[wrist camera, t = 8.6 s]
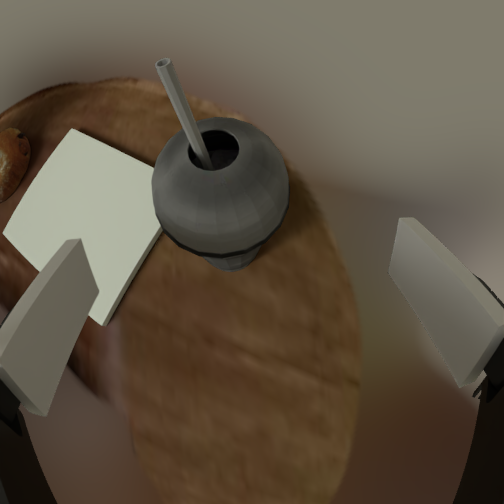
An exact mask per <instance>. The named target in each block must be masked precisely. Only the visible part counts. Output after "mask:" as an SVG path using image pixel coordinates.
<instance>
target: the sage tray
mask: <svg viewBox="0 0 504 504" xmlns="http://www.w3.org/2000/svg"><path fill="white" fill-rule="evenodd" d="M153 171H154V168H153V167H151V166H149V165H147V164H145V163H143V162H141V161H139V160H137V159H135V158H133V157H131V156H128V155H126V154H124V153H122V152H120V151H118V150H116V149H114V148H112V147H110V146H108V145H106V144H104V143H102V142H100V141H98V140H96V139H93V138H91V137H89V136H87V135H85V134H83V133H81V132H79V131H77V130H74V129H71V130H70V131H69V132H68V134H67V135H66V136H65V137H64V139H63V140H62V141H61V143H60V144H59V145H58V146H57V148H56V149H55V150H54V152H53V153H52V154H51V156H50V157H49V159H48V160H47V161H46V163H45V164H44V166H43V167H42V169H41V170H40V171H39V173H38V174H37V176H36V177H35V179H34V180H33V182H32V184H31V185H30V187H29V188H28V190H27V191H26V193H25V195H24V196H23V198H22V200H21V201H20V203H19V205H18V206H17V208H16V210H15V212H14V213H13V215H12V217H11V219H10V221H9V222H8V224H7V226H6V228H5V230H4V232H3V234H4V235H5V236H6V238H7V239H8V240H9V241H10V242H11V243H12V244H13V245H14V246H15V247H16V248H17V249H18V251H19V252H20V253H21V254H22V255H23V256H24V257H25V258H26V259H27V260H28V261H29V262H30V263H31V264H32V265H33V266H34V267H35V268H36V269H37V270H38V271H39V272H41V270H42V269H43V268H44V267H45V265H46V264H47V263H48V262H49V260H50V259H51V258H52V257H53V255H54V254H55V253H56V252H57V251H58V249H59V248H60V247H61V246H62V245H63V244H64V242H65V241H66V240H70V239H79V238H81V240H82V243H83V246H84V249H85V253H86V256H87V259H88V261H89V264H90V267H91V270H92V273H93V276H94V278H95V281H96V284H97V286H98V289H99V294H98V296H97V298H96V300H95V302H94V304H93V306H92V308H91V310H90V312H89V314H88V315H89V316H90V317H91V318H93V319H94V320H95V321H96V322H98V323H99V324H100V325H101V326H107V324H108V322H109V320H110V319H111V317H112V315H113V313H114V311H115V309H116V308H117V306H118V304H119V302H120V300H121V299H122V297H123V295H124V293H125V292H126V290H127V288H128V286H129V285H130V283H131V281H132V280H133V278H134V276H135V275H136V273H137V271H138V269H139V268H140V266H141V264H142V263H143V261H144V260H145V258H146V256H147V255H148V253H149V251H150V250H151V248H152V247H153V245H154V243H155V242H156V240H157V239H158V237H159V236H160V234H161V232H162V231H163V229H162V227H161V225H160V223H159V221H158V219H157V217H156V215H155V208H154V205H153V197H152V185H151V180H152V175H153Z"/></svg>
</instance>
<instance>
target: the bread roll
mask: <svg viewBox="0 0 504 504" xmlns="http://www.w3.org/2000/svg"><path fill="white" fill-rule="evenodd" d="M30 155H31V148H30V145H29V141H28V139H27V138H26V136H25V133H22V132H20V131H19V130H18V129H15V128H14V129H13V128H12V127H10V128H9V129H6V130H4V131H2V132H0V203H1V202H3V201H5V200H6V199H7V198H8V197H10V196H11V195H12V193H13V192H14V191H15V190H16V188H17V186H18V185H19V183H20V181H21V179H22V177H23V176H24V174H25V172H26V170H27V168H28V164H29V160H30Z"/></svg>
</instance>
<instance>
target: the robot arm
mask: <svg viewBox="0 0 504 504" xmlns="http://www.w3.org/2000/svg"><path fill="white" fill-rule="evenodd" d="M388 274H389V275H390V277H391V278H392V280H393V281H394V283H395V284H396V285H397V287H398V288H399V290H400V291H401V293H402V294H403V296H404V297H405V299H406V300H407V302H408V303H409V305H410V306H411V308H412V309H413V311H414V312H415V314H416V315H417V317H418V318H419V320H420V322H421V323H422V325H423V326H424V328H425V330H426V331H427V333H428V334H429V336H430V338H431V339H432V341H433V342H434V344H435V346H436V348H437V349H438V351H439V352H440V354H441V356H442V358H443V359H444V361H445V363H446V365H447V366H448V368H449V370H450V372H451V374H452V375H453V377H454V379H455V381H456V383H457V384H458V386H459V388H460V387H463V386H465V385H467V384H470V383H472V382H474V381H475V380H476V379H477V378H478V376H479V375H480V374H481V372H482V371H483V370H484V371H485V373H486V375H487V376H486V377H485V379H484V380H483V381H482V383H481V384H480V385H479V386H478V388H477V389H476V390H475V392H474V393H473V397H475V396H476V395H477V394H478V393H479V392H480V390H482V391H481V395H480V396H479V398H478V399H480V404H479V410H478V416H477V421H476V426H475V431H474V435H473V440H472V444H471V448H470V452H469V455H468V459H467V463H466V466H465V469H464V473H463V476H462V479H461V482H460V485H459V488H458V491H457V493H456V496H455V499H454V501H453V504H504V304H503V303H502V301H501V300H500V299H499V298H497V296H496V295H495V293H494V292H493V291H491V289H490V288H489V287H488V286H487V285H486V284H485V282H484V281H482V280H481V279H480V278H478V277H477V276H475V275H474V274H472V273H471V272H470V271H469V270H468V269H467V268H466V266H465V265H464V264H463V263H462V262H461V261H460V260H459V259H457V257H456V256H455V255H454V254H453V253H452V252H450V250H449V249H448V248H446V247H445V246H444V245H443V244H442V243H441V242H440V241H439V240H438V239H437V238H436V237H435V236H434V235H433V234H432V233H430V232H429V231H428V230H427V229H426V228H425V227H424V226H423V225H422V224H421V223H420V222H418V221H417V220H416V219H415V218H413V217H407V218H399V222H398V227H397V232H396V238H395V242H394V247H393V252H392V256H391V260H390V265H389V269H388ZM98 294H99V289H98V286H97V284H96V281H95V278H94V276H93V273H92V270H91V267H90V264H89V261H88V259H87V256H86V253H85V249H84V246H83V243H82V240H81V238H79V239H70V240H66V241H65V242H64V244H63V245H62V246H61V247H60V248H59V249H58V251H57V252H56V253H55V254H54V255H53V257H52V258H51V259H50V260H49V262H48V263H47V264H46V265H45V267H44V268H43V269H42V270H41V272H40V273H39V274H38V276H37V277H36V278H35V279H34V281H33V282H32V283H31V285H30V286H29V288H28V289H27V290H26V292H25V293H24V294H23V296H22V297H21V299H20V300H19V301H18V303H17V304H16V306H15V307H14V308H13V309H12V310H11V311H10V312H9V313H8V314H7V315H6V317H5V319H4V320H3V322H2V325H0V504H57V502H56V500H55V498H54V496H53V494H52V492H51V490H50V487H49V485H48V483H47V481H46V478H45V476H44V474H43V472H42V469H41V467H40V464H39V461H38V459H37V456H36V454H35V451H34V448H33V445H32V442H31V440H30V436H29V433H28V430H27V427H26V424H25V420H24V417H23V415H22V413H21V411H20V410H19V409H18V408H19V406H20V403H22V405H23V406H24V407H25V408H26V409H27V410H28V411H29V412H30V413H34V414H37V415H41V416H45V417H46V416H47V414H48V411H49V408H50V405H51V402H52V399H53V396H54V394H55V391H56V388H57V386H58V383H59V380H60V378H61V375H62V373H63V370H64V368H65V366H66V363H67V361H68V358H69V356H70V354H71V351H72V349H73V347H74V344H75V342H76V340H77V338H78V335H79V333H80V331H81V329H82V327H83V325H84V322H85V320H86V318H87V316H88V314H89V312H90V310H91V308H92V306H93V304H94V302H95V300H96V298H97V296H98Z"/></svg>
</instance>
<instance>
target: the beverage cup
mask: <svg viewBox="0 0 504 504" xmlns="http://www.w3.org/2000/svg"><path fill="white" fill-rule="evenodd" d="M155 67H156V70H157V72H158V74H159V76H160V78H161V80H162V83H163V85H164V87H165V90H166V92H167V94H168V96H169V98H170V100H171V103H172V105H173V107H174V109H175V111H176V114H177V116H178V118H179V120H180V122H181V125H182V127H183V128H182V129H181V130H180V131H179V132H178V133H176V134H175V135H174V136H173V137H172V138H171V139H169V141H168V142H167V144H166V145H165V147H164V148H163V150H162V151H161V153H160V154H159V156H158V158H157V160H156V164H155V167H154V171H153V175H152V180H151V185H152V197H153V205H154V208H155V215H156V217H157V219H158V221H159V223H160V225H161V227H162V229H163V231H164V233H165V234H166V235H167V236H168V237H169V238H170V239H171V240H172V241H173V242H174V243H175V244H176V245H178V246H179V247H180V248H182V249H185V250H187V251H189V252H191V253H193V254H196V255H198V256H202V257H203V258H204V259H205V260H207V261H208V262H209V263H210V264H211V265H213V266H214V267H216V268H218V269H220V270H223V271H228V272H234V271H239V270H241V269H243V268H245V267H246V266H248V265H249V263H250V262H251V261H252V260H253V259H254V258H255V256H256V255H257V253H258V251H259V249H260V247H261V245H262V244H264V243H266V242H267V240H268V239H269V238H270V237H271V236H272V235H273V234H274V233H275V232H276V231H277V230H278V229H279V228H280V226H281V224H282V222H283V219H284V217H285V215H286V213H287V210H288V208H289V196H290V186H289V182H288V181H289V179H288V174H287V170H286V167H285V164H284V160H283V157H282V155H281V153H280V151H279V150H278V149H277V147H276V146H275V145H274V143H273V142H272V141H271V139H270V138H269V137H268V136H267V135H266V134H264V133H263V132H262V131H260V130H259V129H257V128H256V127H254V126H253V125H252V124H249V123H246V122H243V121H240V120H237V119H234V118H223V117H213V118H208V119H203V120H199V121H197V122H195V119H194V117H193V114H192V112H191V109H190V107H189V104H188V102H187V99H186V97H185V94H184V92H183V89H182V87H181V84H180V82H179V79H178V77H177V74H176V72H175V69H174V67H173V64H172V62H171V59H169V58H163V59H160V60H159V61H158V62H156V64H155Z"/></svg>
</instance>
